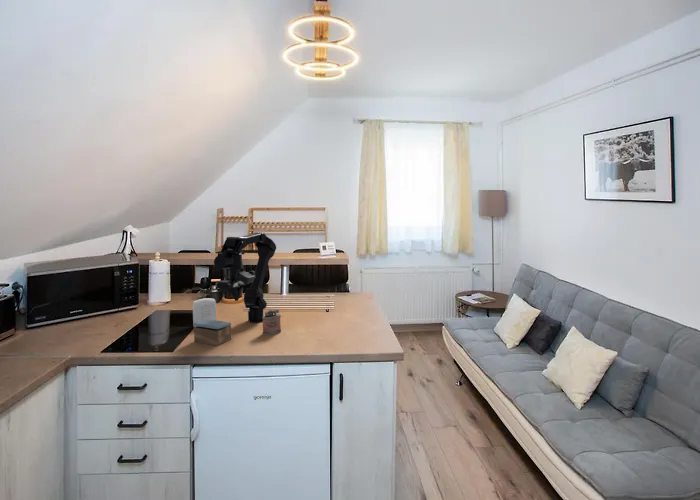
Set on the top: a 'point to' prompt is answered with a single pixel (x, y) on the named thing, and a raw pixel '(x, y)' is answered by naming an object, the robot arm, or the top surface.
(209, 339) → the walnut box
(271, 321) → the lighter
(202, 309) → the photo printer
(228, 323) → the lid
